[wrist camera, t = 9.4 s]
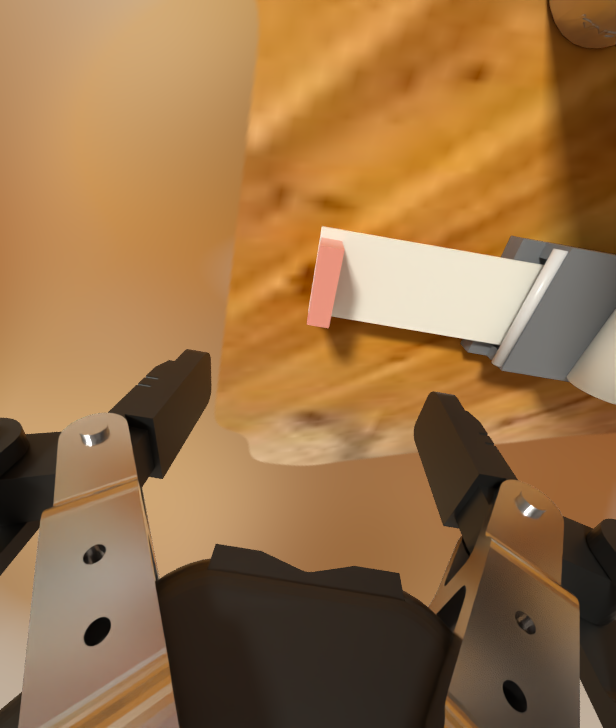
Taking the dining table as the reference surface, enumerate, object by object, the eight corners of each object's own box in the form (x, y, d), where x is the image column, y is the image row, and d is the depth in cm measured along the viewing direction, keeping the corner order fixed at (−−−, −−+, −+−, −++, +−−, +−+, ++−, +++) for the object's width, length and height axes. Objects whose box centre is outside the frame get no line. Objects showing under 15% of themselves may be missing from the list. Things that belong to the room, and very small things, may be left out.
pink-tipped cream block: (322, 226, 25) (319, 232, 20) (549, 265, 25) (602, 282, 20) (308, 310, 28) (303, 333, 24) (506, 343, 29) (541, 373, 24)
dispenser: (510, 235, 26) (587, 251, 18) (660, 262, 26) (799, 289, 18) (460, 343, 32) (502, 391, 24) (584, 364, 32) (666, 418, 24)
